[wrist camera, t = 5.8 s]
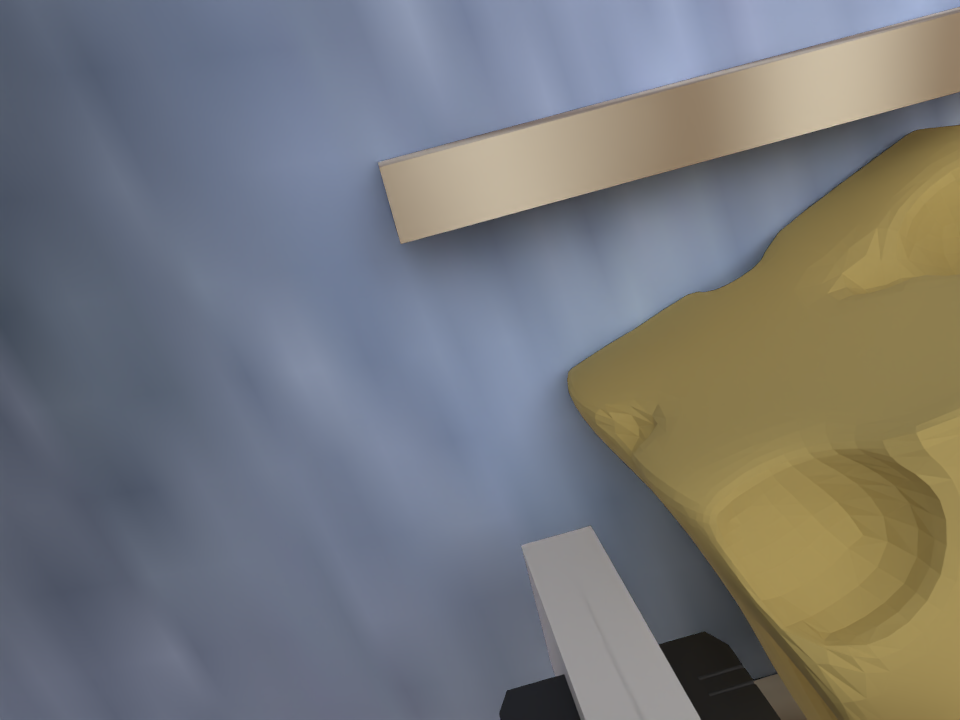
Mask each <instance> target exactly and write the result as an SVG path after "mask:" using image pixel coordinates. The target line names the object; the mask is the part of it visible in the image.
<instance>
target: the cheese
mask: <svg viewBox="0 0 960 720" xmlns="http://www.w3.org/2000/svg"><path fill="white" fill-rule="evenodd" d="M567 382H568V390H569V394H570V396H571V398H572V400H573V402H574V404H575V406H576V408H577V409H578V411H579V412H580V414H581V415H582V417H583V418H584V420H585V421H586V422H587V423H588V425H589V426H590V427H591V428H592V430H593V431H594V432H595V433H596V434H597V435H598V436H599V437H600V438H601V440H602V441H603V442H604V443H605V444H606V445H607V446H608V447H609V448H610V449H611V450H612V451H613V452H614V453H615V454H616V455H617V456H618V457H619V458H620V459H621V460H622V461H623V462H624V463H625V464H626V465H627V466H628V467H629V468H630V469H631V470H632V471H633V472H634V473H635V474H636V475H637V476H638V477H639V478H640V479H641V480H642V481H643V482H644V483H645V484H646V485H647V486H648V487H649V488H650V489H651V490H652V491H653V492H654V494H655V495H656V496H657V497H658V498H659V499H660V500H661V502H662V503H663V504H664V505H665V507H666V508H667V509H668V510H669V511H670V513H671V514H672V515H673V516H674V518H675V519H676V520H677V521H678V522H679V524H680V525H681V526H682V527H683V529H684V530H685V531H686V532H687V534H688V535H689V536H690V537H691V539H692V540H693V542H694V543H695V544H696V546H697V547H698V548H699V550H700V551H701V553H702V554H703V555H704V557H705V558H706V559H707V561H708V562H709V564H710V565H711V566H712V568H713V569H714V570H715V572H716V573H717V575H718V576H719V578H720V579H721V580H722V582H723V583H724V585H725V586H726V588H727V589H728V591H729V592H730V594H731V595H732V597H733V598H734V599H735V601H736V602H737V604H738V606H739V607H740V609H741V610H742V612H743V614H744V615H745V617H746V619H747V620H748V622H749V624H750V626H751V627H752V629H753V631H754V633H755V634H756V636H757V638H758V640H759V642H760V643H761V645H762V647H763V649H764V651H765V652H766V654H767V656H768V658H769V659H770V661H771V663H772V665H773V666H774V668H775V670H776V671H777V673H778V675H779V676H780V678H781V680H782V681H783V683H784V684H785V686H786V688H787V689H788V691H789V692H790V694H791V695H792V697H793V699H794V700H795V702H796V703H797V705H798V706H799V708H800V709H801V711H802V712H803V714H804V715H805V717H806V718H807V719H808V720H960V125H956V126H946V127H936V128H927V129H920V130H916V131H913V132H911V133H910V134H908V135H906V136H905V137H904V138H902V139H901V140H899V141H898V142H897V143H895V144H894V145H893V146H891V147H890V148H888V149H887V150H886V151H884V152H883V153H882V154H880V155H879V156H878V157H876V158H875V159H873V160H872V161H871V162H869V163H868V164H867V165H865V166H864V167H863V168H861V169H860V170H859V171H857V172H856V173H854V174H853V175H852V176H850V177H849V178H848V179H846V180H845V181H844V182H842V183H841V184H840V185H838V186H837V187H836V188H834V189H833V190H832V191H830V192H829V193H828V194H826V195H825V196H824V197H822V198H821V199H820V200H819V201H817V202H816V203H815V204H813V205H812V206H811V207H809V208H808V209H807V210H805V211H804V212H803V213H802V214H800V215H799V216H798V217H797V218H796V219H794V220H793V221H792V222H791V223H790V224H788V225H787V226H786V227H785V228H783V229H782V230H781V231H779V233H778V234H777V236H776V237H775V238H774V240H773V241H772V243H771V244H770V246H769V247H768V249H767V250H766V252H765V253H764V256H763V257H762V259H761V261H760V262H759V263H758V264H757V265H756V266H755V267H754V268H753V269H751V270H750V271H748V272H747V273H746V274H744V275H743V276H741V277H740V278H738V279H736V280H735V281H733V282H731V283H729V284H728V285H726V286H723V287H721V288H718V289H716V290H712V291H708V292H695V293H692V294H688V295H686V296H685V297H683V298H682V299H680V300H678V301H677V302H675V303H674V304H672V305H670V306H669V307H667V308H665V309H664V310H662V311H661V312H659V313H658V314H656V315H655V316H653V317H652V318H650V319H649V320H648V321H646V322H644V323H643V324H641V325H640V326H638V327H637V328H635V329H634V330H632V331H631V332H629V333H627V334H625V335H624V336H622V337H620V338H619V339H617V340H615V341H614V342H612V343H610V344H608V345H607V346H605V347H604V348H602V349H600V350H599V351H597V352H596V353H594V354H593V355H591V356H590V357H588V358H587V359H585V360H584V361H582V362H581V363H579V364H578V365H576V366H575V367H573V368H572V369H571V370H570V371H569V372H568V378H567Z"/></svg>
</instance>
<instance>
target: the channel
mask: <svg viewBox="0 0 960 720" xmlns="http://www.w3.org/2000/svg"><path fill="white" fill-rule="evenodd" d="M957 92H960V7H957V8H954V9H950V10H946V11H942V12H939V13H935V14H931V15H927V16H924V17H920V18H916V19H912V20H909V21H905V22H901V23H897V24H894V25H890V26H886V27H882V28H879V29H875V30H871V31H868V32H864V33H860V34H856V35H853V36H849V37H845V38H841V39H838V40H834V41H830V42H826V43H823V44H819V45H815V46H811V47H808V48H804V49H800V50H796V51H793V52H789V53H785V54H781V55H778V56H774V57H770V58H766V59H763V60H759V61H755V62H751V63H748V64H744V65H740V66H736V67H733V68H729V69H725V70H722V71H718V72H714V73H710V74H707V75H703V76H699V77H695V78H692V79H688V80H684V81H680V82H677V83H673V84H669V85H665V86H662V87H658V88H654V89H650V90H647V91H643V92H639V93H635V94H632V95H628V96H624V97H620V98H617V99H613V100H609V101H605V102H602V103H598V104H594V105H590V106H587V107H583V108H579V109H576V110H572V111H568V112H564V113H561V114H557V115H553V116H549V117H546V118H542V119H538V120H534V121H531V122H527V123H523V124H519V125H516V126H512V127H508V128H504V129H501V130H497V131H493V132H489V133H486V134H482V135H478V136H474V137H471V138H467V139H463V140H459V141H456V142H452V143H448V144H444V145H441V146H437V147H433V148H429V149H426V150H422V151H418V152H415V153H411V154H407V155H403V156H400V157H396V158H392V159H388V160H385V161H381V162H378V165H379V169H380V172H381V176H382V179H383V183H384V186H385V190H386V194H387V197H388V201H389V204H390V208H391V211H392V215H393V218H394V222H395V226H396V229H397V233H398V236H399V239H400V243H401V244H403V243H407V242H410V241H414V240H418V239H421V238H425V237H429V236H432V235H436V234H440V233H443V232H447V231H451V230H454V229H458V228H462V227H465V226H469V225H473V224H476V223H480V222H484V221H487V220H491V219H495V218H498V217H502V216H506V215H509V214H513V213H517V212H520V211H524V210H528V209H531V208H535V207H539V206H542V205H546V204H550V203H553V202H557V201H561V200H564V199H568V198H572V197H575V196H579V195H583V194H586V193H590V192H594V191H597V190H601V189H605V188H608V187H612V186H616V185H619V184H623V183H627V182H630V181H634V180H638V179H641V178H645V177H649V176H652V175H656V174H660V173H664V172H667V171H671V170H675V169H678V168H682V167H686V166H689V165H693V164H697V163H700V162H704V161H708V160H711V159H715V158H719V157H722V156H726V155H730V154H733V153H737V152H741V151H744V150H748V149H752V148H755V147H759V146H763V145H766V144H770V143H774V142H777V141H781V140H785V139H788V138H792V137H796V136H799V135H803V134H807V133H810V132H814V131H818V130H821V129H825V128H829V127H832V126H836V125H840V124H843V123H847V122H851V121H854V120H858V119H862V118H865V117H869V116H873V115H876V114H880V113H884V112H887V111H891V110H895V109H898V108H902V107H906V106H909V105H913V104H917V103H920V102H924V101H928V100H931V99H935V98H939V97H942V96H946V95H950V94H953V93H957ZM753 682H754V684H756V685H757V686H758V688H759V689H760V690H761V692H762V693H763V695H764V696H765V697H766V699H767V700H768V702H769V703H770V705H771V706H772V707H773V709H774V710H775V712H776V713H777V715H778V716H779V717H780V719H781V720H808V719H807V718H806V717H805V715H804V714H803V712H802V711H801V709H800V708H799V706H798V705H797V703H796V702H795V700H794V699H793V697H792V695H791V694H790V692H789V691H788V689H787V688H786V686H785V684H784V683H783V681H782V680H781V678H780V676H779V675H778V674H775V675H771V676H768V677H765V678H762V679H758V680H755V681H753Z"/></svg>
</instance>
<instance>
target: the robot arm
mask: <svg viewBox="0 0 960 720" xmlns="http://www.w3.org/2000/svg"><path fill="white" fill-rule="evenodd" d="M521 547H522V551H523V555H524V559H525V563H526V567H527V571H528V575H529V579H530V583H531V587H532V590H533V594H534V598H535V602H536V606H537V610H538V614H539V618H540V622H541V626H542V630H543V634H544V638H545V642H546V646H547V650H548V653H549V657H550V661H551V664H552V667H553V670H554V673H555V676H556V677H553V678H549V679H546V680H542V681H539V682H535V683H532V684H528V685H525V686H521V687H518V688H514V689H511V690H508V691H507V692H506V695H505V698H504V701H503V704H502V707H501V710H500V713H499V714H500V719H501V720H781V719H780V717H779V716H778V715H777V713H776V712H775V710H774V709H773V707H772V706H771V705H770V703H769V702H768V700H767V699H766V697H765V696H764V695H763V693H762V692H761V690H760V689H759V688H758V686H757V685H756V684H754V682H753V679H752V678H751V676H750V675H749V673H748V672H747V671H746V669H745V668H743V666H742V663H741V662H740V661H739V659H738V658H737V656H736V655H735V654H734V652H733V651H732V649H731V648H730V646H729V645H728V644H726V643H724V642H722V641H721V640H719V639H717V638H715V637H714V636H712V635H710V634H708V633H707V632H705V631H704V632H701V633H697V634H694V635H690V636H687V637H684V638H680V639H677V640H673V641H670V642H666V643H663V644H659V645H658V643H657V641H656V640H655V638H654V636H653V634H652V632H651V631H650V629H649V627H648V625H647V624H646V622H645V620H644V618H643V617H642V615H641V613H640V611H639V610H638V608H637V606H636V604H635V603H634V601H633V599H632V597H631V595H630V594H629V592H628V590H627V588H626V587H625V585H624V583H623V581H622V580H621V578H620V576H619V574H618V573H617V571H616V569H615V567H614V566H613V564H612V562H611V560H610V559H609V557H608V555H607V553H606V551H605V550H604V548H603V546H602V544H601V543H600V541H599V539H598V537H597V536H596V534H595V532H594V530H593V529H592V527H591V526H588V527H584V528H581V529H577V530H573V531H570V532H566V533H563V534H559V535H555V536H552V537H548V538H545V539H541V540H538V541H534V542H530V543H527V544H523V545H521Z"/></svg>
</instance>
